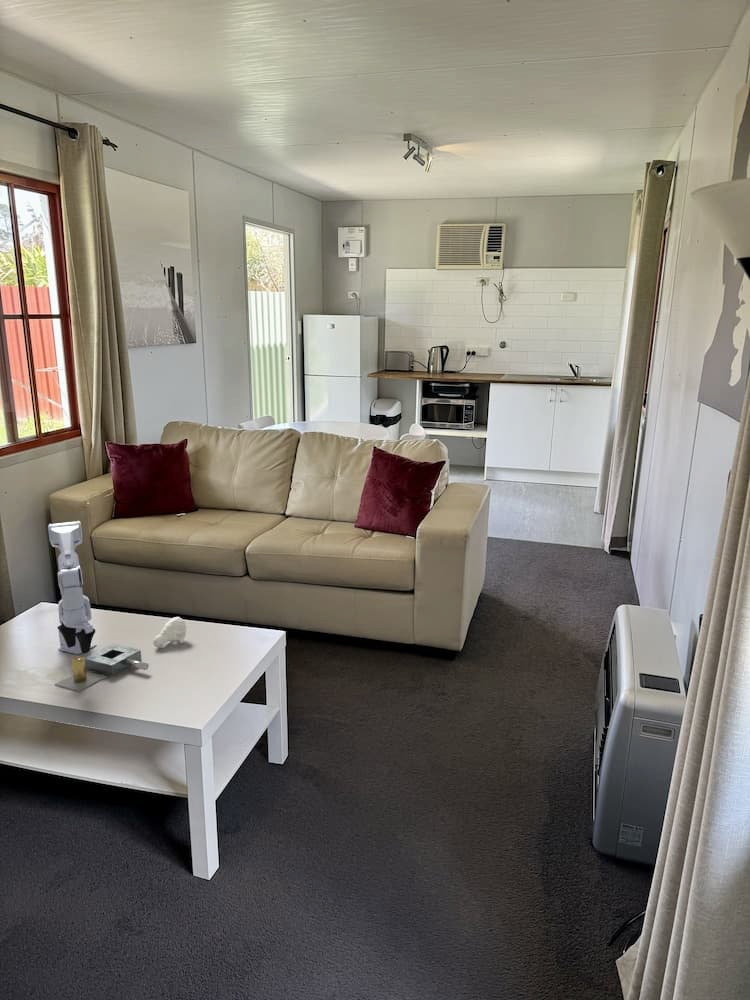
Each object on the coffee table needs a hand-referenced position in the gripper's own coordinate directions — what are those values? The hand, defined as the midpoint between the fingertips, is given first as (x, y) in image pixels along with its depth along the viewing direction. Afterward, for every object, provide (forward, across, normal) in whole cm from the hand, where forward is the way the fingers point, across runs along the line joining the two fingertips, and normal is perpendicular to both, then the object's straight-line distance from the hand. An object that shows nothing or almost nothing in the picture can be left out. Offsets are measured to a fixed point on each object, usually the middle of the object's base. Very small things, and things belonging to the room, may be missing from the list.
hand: (78, 649), depth 210 cm
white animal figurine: (+10, -2, -31) cm, 33 cm away
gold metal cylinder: (+9, -1, +1) cm, 10 cm away
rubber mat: (+10, -1, +1) cm, 10 cm away
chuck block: (+10, -4, -12) cm, 16 cm away
